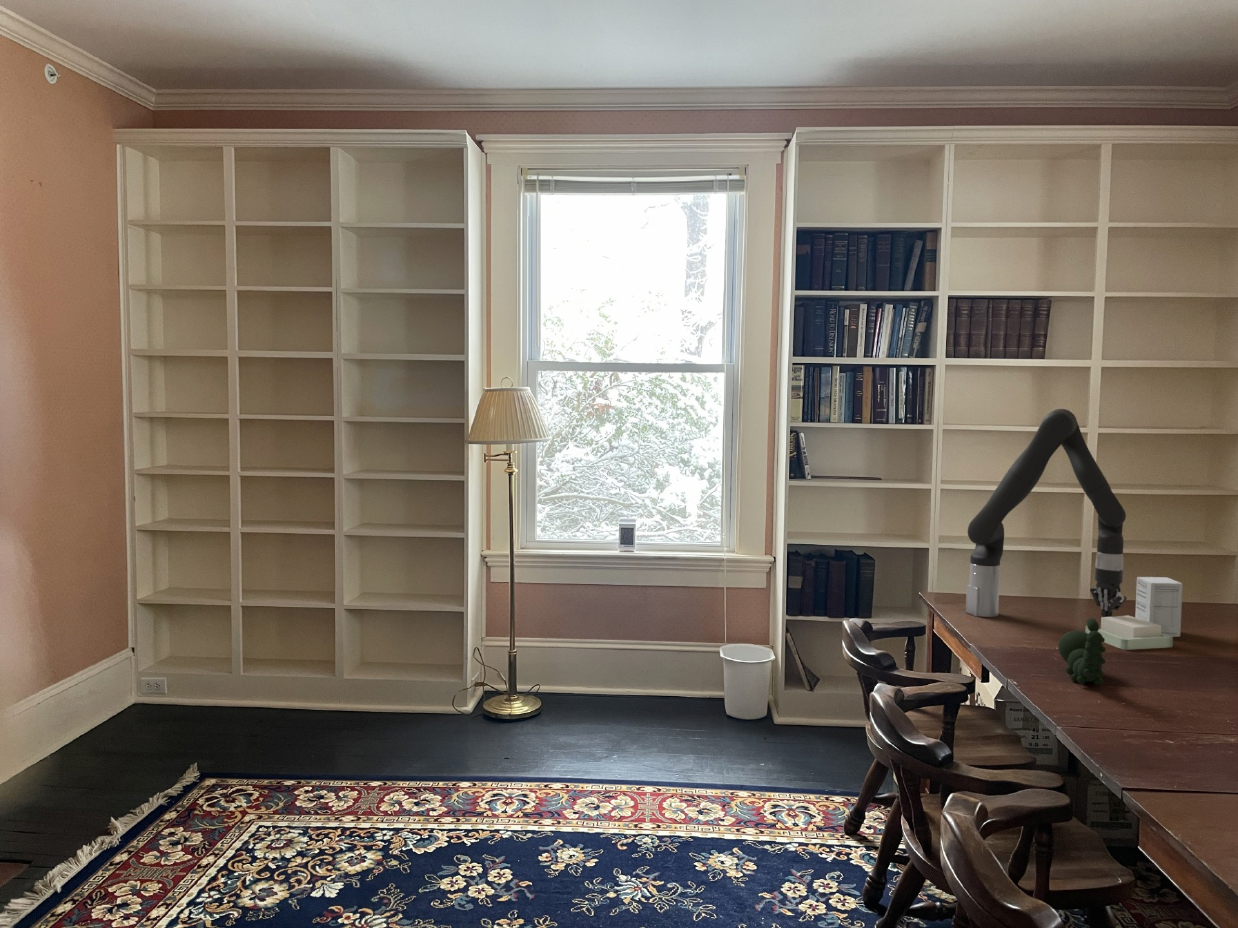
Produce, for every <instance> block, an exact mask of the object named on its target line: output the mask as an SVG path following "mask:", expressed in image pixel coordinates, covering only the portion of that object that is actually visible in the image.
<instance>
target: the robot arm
mask: <svg viewBox="0 0 1238 928" xmlns="http://www.w3.org/2000/svg"><path fill="white" fill-rule="evenodd" d="M1060 447H1062V448H1063V450H1064V451H1065V453H1066V455H1067V457H1068V460H1069V461H1070V464H1071V468H1072V470H1073V473H1074V475H1075V477H1076V480H1077V481H1078V484H1079V485H1080V487H1081V489H1082V491H1084V494H1085V495H1086V497H1087V498H1088V499H1089V501H1090V502H1091V503H1092V506H1093V507H1094V509H1095V512H1096V514H1097V529H1098V535H1097V542H1096V544H1097V545H1096V554H1095V565H1094V569H1095V570H1094V580H1095V582H1096V584H1095V586H1094V588H1093V587H1092V588H1091V587H1090V589H1089V591H1090V593H1091V595H1092V598H1093V600H1094V602H1095V605H1096V606H1097V607H1100V609H1101V614H1100V616H1101V617H1113V612H1114V611H1118V610H1119V609H1120V608H1121V606H1122V605H1123V604H1124V603H1125V601H1126V600H1127V597H1126V596H1125V595H1124V596H1123V595H1122V593H1121V591H1122V590H1121V586H1120V585H1121V584H1123V581H1124V580H1123V579H1124V578H1123V577H1124V576H1123V575H1124V561H1125V560H1124V544H1125V543H1124V536H1123V527H1124V523H1125V521H1126V517H1127V512H1126V511H1125V509H1124V508H1123V506H1122V504H1121V503H1120V501H1119V499H1118V498H1117V497H1116V495H1115V494H1114V492H1113V491H1112V488H1111V486H1110V484H1109V482H1108V481H1107V478H1106V477H1105V475H1104V473H1103V471H1102V470H1101V469H1100V467H1099V465H1098V463H1097V462H1096V460H1095V459H1094V457H1093V454H1092V453H1091V451H1090V449H1089V447H1088V446H1087V443H1086V441H1085V439H1084V435H1083V433H1082V432H1081V429H1080V426H1079V423H1078V420H1077V417H1076V415H1075V414H1074V413H1073V412H1072V411H1071V410H1069V409H1065V408H1057V409H1054V410H1052V411H1051V412H1048V413H1047V414H1046V415H1045V416H1044V417H1043V419H1042V421H1041V423H1040V425H1039V427H1038V428H1037V431H1036V432H1035V434H1034V435H1033V438H1032V440H1031V441H1030V442H1029V444H1028V446H1027V447H1025V449H1024V450H1023V451H1022V452H1021V454H1020V455H1019V456H1018V457H1017V459H1015V461H1014V462H1013V463H1012V465H1011V466H1010V467H1009V469H1008V470H1007V472H1006V473H1005V474H1004V476H1003V478H1002V480H1001V481H1000V482H999V484H998V485H997V487H996V488H995V490H994V491H993V492H992V495H991V496H990V498H989V499H988V501H987V502H986V504H984V506H983V507H982V508H981V510H980V511H979V512H978V513H977V514H975V516H974V517H973V519H972V520H971V521H970V522H969V524H968V527H967V536H968V539H969V540H970V542H972V543H973V544H975V547H974V550H973V551H972V553H971V554H970V561H969V562H970V564H969V582H968V584H966V595H965V596H966V597H965V613H967V614H969V615H971V616H975V617H984V618H995V617H998V616H999V598H1000V597H999V596H1000V595H999V594H1000V575H1001V574H1000V571H1001V569H1000V568H1001V560H1002V557H1003V552H1004V543H1005V541H1004V540H1005V527H1004V524H1003V521H1004V520H1005V518H1006V517H1007V515H1009V513H1010V512H1012V510H1014V509H1015V508H1016V507H1017V506H1018V505H1020V504H1021V503H1022V502H1023V501H1024V500H1025V499H1026V498H1027V497H1028V496H1029V494H1030V493H1031V492H1032V490H1033V489H1034V488H1035V487H1036V485H1037V484H1038V482H1039V480H1040V479H1041V478H1042V475H1043V474H1044V472H1045V470H1046V467H1047V465H1048V463H1049V460H1050V459H1051V457H1052V456H1053V455H1054V454H1055V453H1056V451H1057V450H1058V448H1060ZM1101 617H1100V618H1101Z"/></svg>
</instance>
